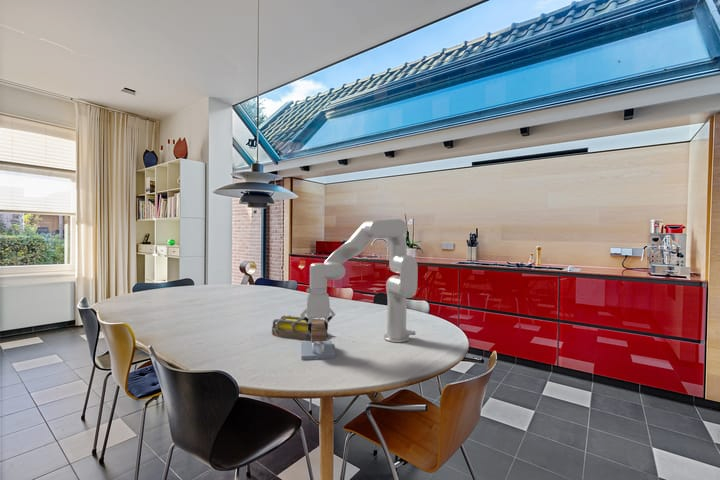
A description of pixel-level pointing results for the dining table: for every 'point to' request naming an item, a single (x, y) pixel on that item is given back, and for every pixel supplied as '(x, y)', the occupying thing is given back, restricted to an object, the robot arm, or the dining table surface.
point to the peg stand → (317, 350)
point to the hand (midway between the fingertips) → (317, 331)
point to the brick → (318, 330)
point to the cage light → (292, 328)
